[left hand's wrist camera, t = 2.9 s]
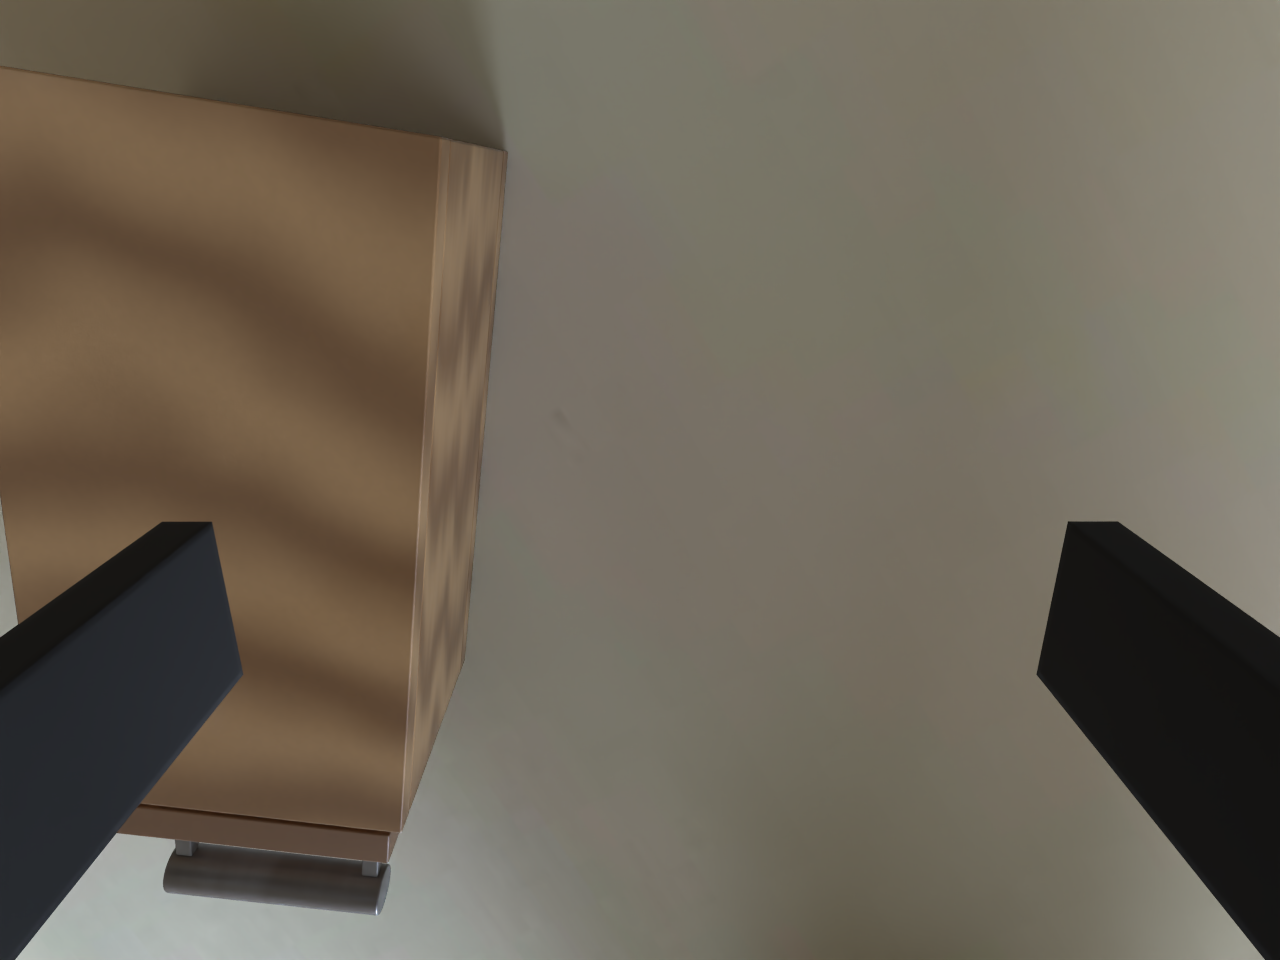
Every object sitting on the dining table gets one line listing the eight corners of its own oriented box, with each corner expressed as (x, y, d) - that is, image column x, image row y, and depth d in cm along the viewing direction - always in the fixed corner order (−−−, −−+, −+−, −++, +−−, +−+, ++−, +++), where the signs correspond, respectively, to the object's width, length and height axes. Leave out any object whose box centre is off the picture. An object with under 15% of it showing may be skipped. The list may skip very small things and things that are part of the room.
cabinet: (464, 659, 33) (401, 833, 24) (203, 626, 33) (40, 792, 24) (508, 151, 26) (441, 136, 18) (178, 98, 26) (-64, 55, 17)
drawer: (433, 820, 35) (381, 982, 28) (213, 794, 35) (103, 954, 27) (476, 259, 27) (417, 288, 20) (186, 215, 26) (18, 228, 19)
